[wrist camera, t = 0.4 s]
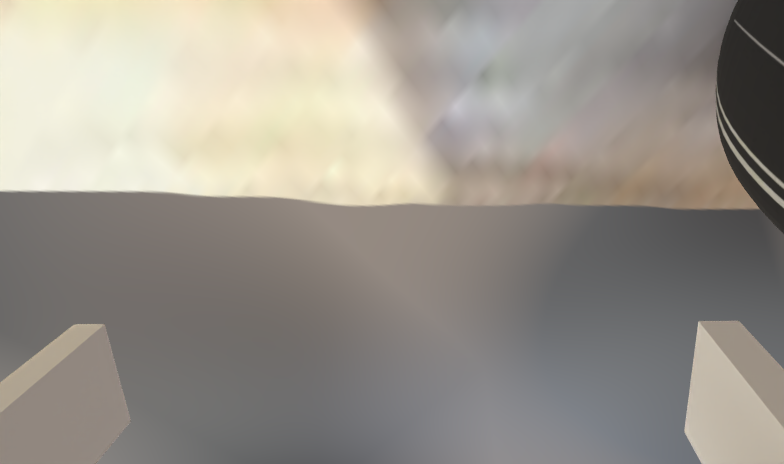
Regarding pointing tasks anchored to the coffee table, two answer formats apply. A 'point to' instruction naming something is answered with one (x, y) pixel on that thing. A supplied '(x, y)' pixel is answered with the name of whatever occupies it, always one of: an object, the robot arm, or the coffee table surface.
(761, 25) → the sunflower seed
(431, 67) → the coffee table surface
